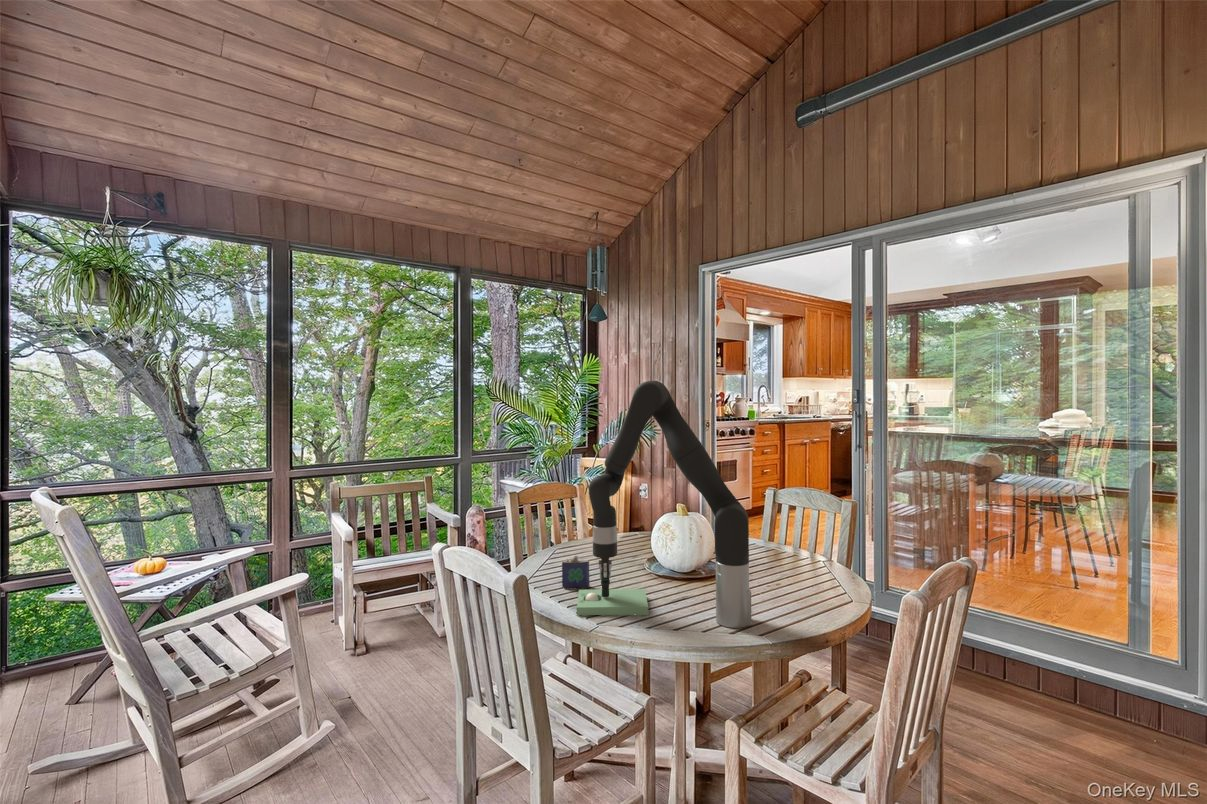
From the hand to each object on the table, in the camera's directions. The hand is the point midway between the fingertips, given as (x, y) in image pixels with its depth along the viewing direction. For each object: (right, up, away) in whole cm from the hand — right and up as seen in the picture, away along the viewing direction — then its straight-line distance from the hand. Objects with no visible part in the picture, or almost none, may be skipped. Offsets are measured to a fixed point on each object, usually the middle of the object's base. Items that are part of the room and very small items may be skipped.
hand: (605, 596), depth 173 cm
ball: (-4, -1, 0) cm, 4 cm away
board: (+2, -3, 0) cm, 4 cm away
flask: (-10, -3, +17) cm, 20 cm away
